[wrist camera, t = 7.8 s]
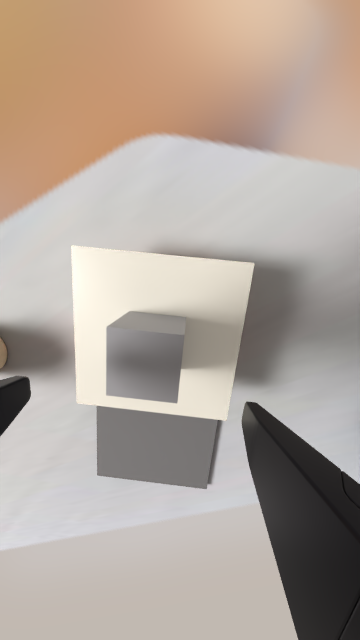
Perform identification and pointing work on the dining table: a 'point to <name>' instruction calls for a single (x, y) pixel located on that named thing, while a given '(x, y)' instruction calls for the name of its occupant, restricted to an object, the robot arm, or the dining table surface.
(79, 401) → the lid
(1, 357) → the candle
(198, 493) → the dining table surface
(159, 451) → the mat
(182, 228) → the dining table surface
